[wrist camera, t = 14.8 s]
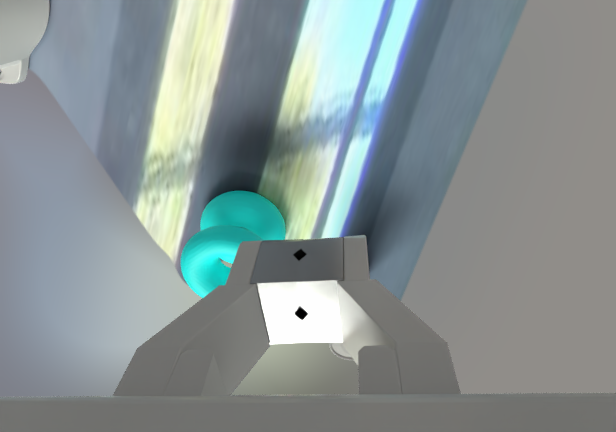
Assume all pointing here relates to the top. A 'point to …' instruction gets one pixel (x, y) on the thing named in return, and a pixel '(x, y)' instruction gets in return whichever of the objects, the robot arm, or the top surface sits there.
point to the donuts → (227, 236)
